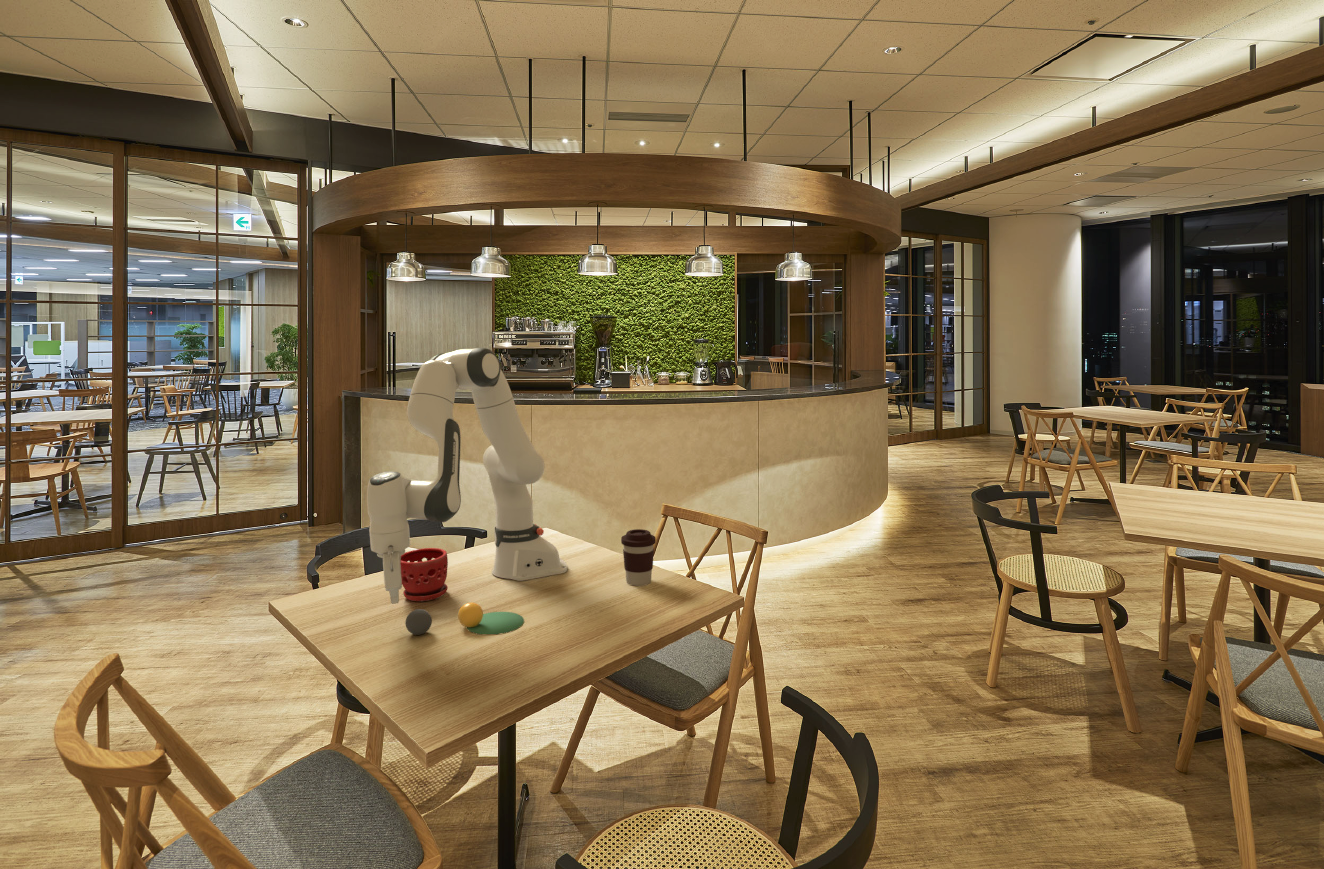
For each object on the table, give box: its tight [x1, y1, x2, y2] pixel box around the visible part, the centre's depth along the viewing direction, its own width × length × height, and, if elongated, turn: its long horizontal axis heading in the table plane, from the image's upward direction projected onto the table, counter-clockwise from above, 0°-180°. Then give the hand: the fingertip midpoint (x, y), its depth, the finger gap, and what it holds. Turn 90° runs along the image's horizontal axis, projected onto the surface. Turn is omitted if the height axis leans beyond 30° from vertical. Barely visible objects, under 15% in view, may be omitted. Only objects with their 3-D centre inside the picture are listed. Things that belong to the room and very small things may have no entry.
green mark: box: [466, 611, 525, 635], centre depth 177 cm, size 14×14×1 cm
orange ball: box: [457, 601, 484, 628], centre depth 175 cm, size 6×6×6 cm
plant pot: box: [401, 547, 449, 602], centre depth 195 cm, size 13×13×12 cm
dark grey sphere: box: [404, 608, 433, 636], centre depth 170 cm, size 6×6×6 cm
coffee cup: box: [620, 528, 657, 587], centre depth 206 cm, size 10×10×15 cm
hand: (394, 595), depth 171 cm, fingers open, 8 cm apart
